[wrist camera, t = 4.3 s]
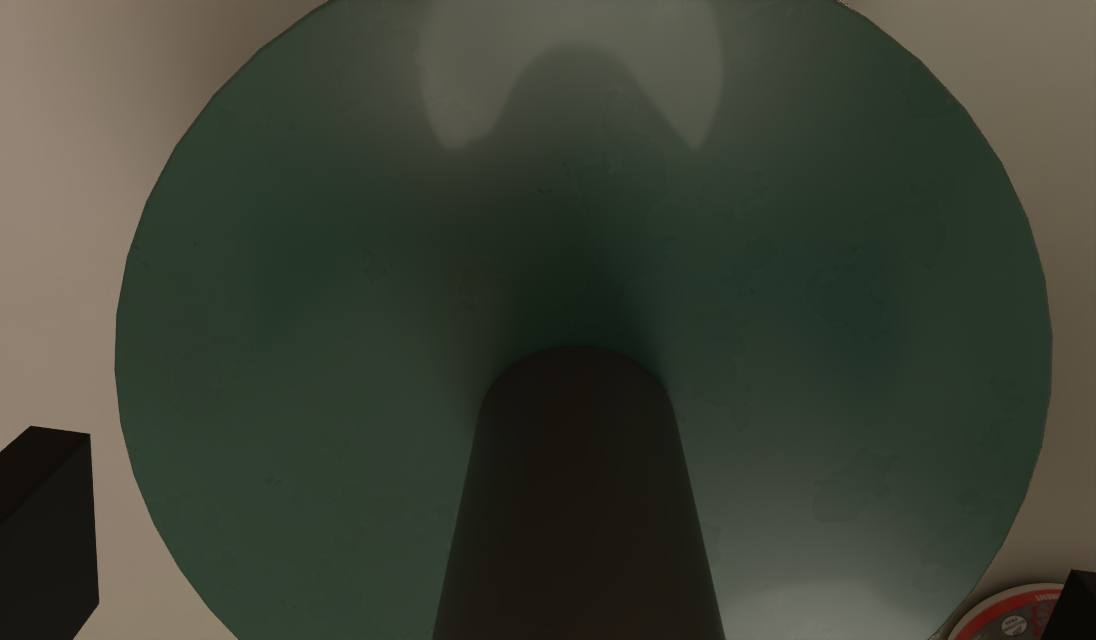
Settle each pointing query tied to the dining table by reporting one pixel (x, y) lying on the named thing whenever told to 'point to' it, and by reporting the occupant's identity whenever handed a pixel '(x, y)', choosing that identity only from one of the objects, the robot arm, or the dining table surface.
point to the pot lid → (583, 329)
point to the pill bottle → (1010, 614)
